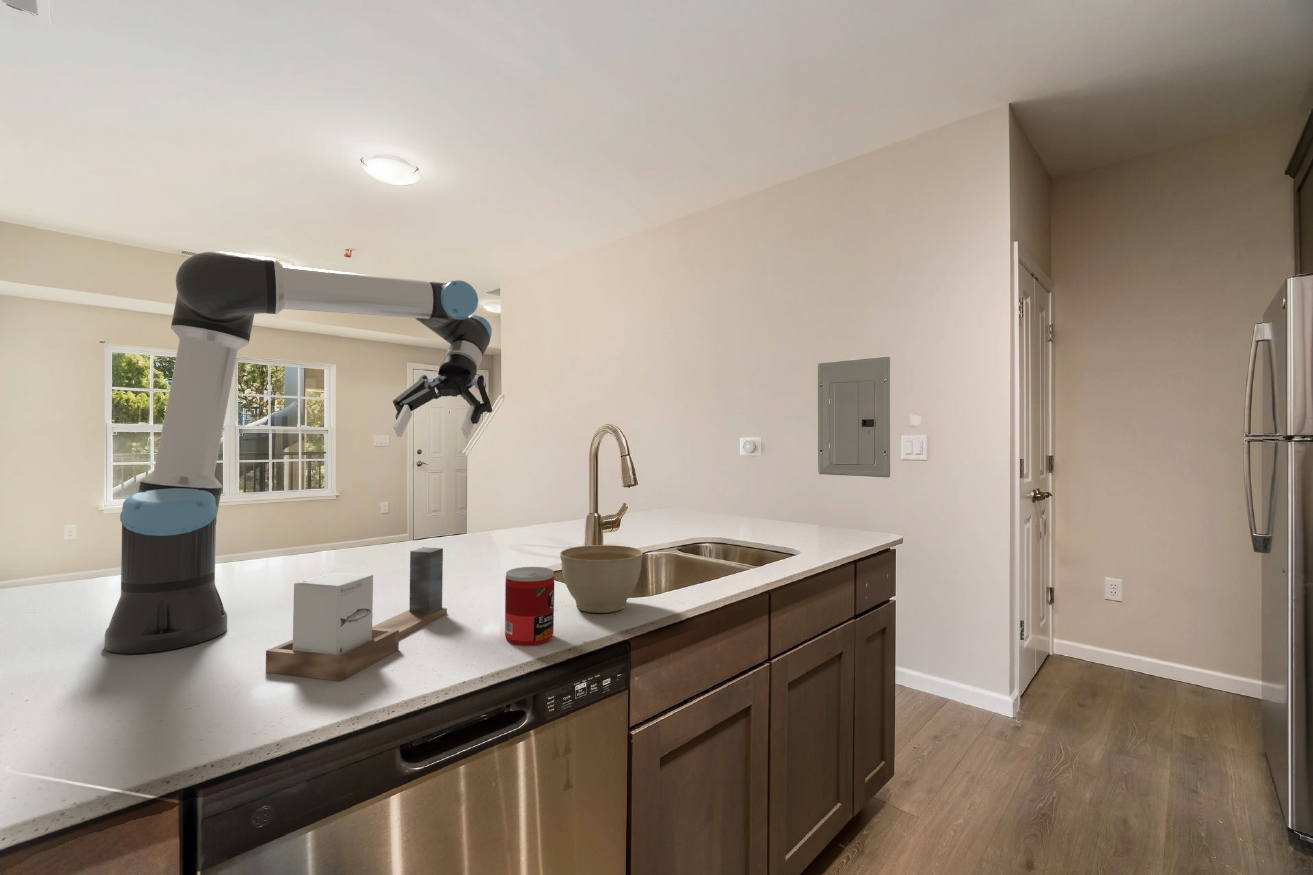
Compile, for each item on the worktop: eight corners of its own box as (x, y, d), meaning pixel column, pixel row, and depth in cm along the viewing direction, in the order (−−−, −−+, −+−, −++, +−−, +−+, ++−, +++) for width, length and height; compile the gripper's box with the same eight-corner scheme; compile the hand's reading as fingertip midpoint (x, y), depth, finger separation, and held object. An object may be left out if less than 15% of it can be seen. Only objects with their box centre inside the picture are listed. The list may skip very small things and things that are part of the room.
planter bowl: (655, 601, 118) (656, 548, 118) (618, 624, 103) (619, 563, 103) (586, 592, 125) (587, 541, 125) (542, 612, 110) (543, 554, 110)
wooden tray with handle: (265, 672, 80) (266, 585, 80) (403, 609, 110) (404, 546, 110) (340, 681, 78) (341, 591, 78) (461, 614, 107) (462, 549, 107)
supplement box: (335, 678, 79) (337, 585, 79) (290, 673, 81) (291, 582, 81) (373, 658, 86) (375, 573, 86) (331, 653, 88) (332, 570, 88)
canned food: (542, 648, 91) (543, 578, 91) (495, 644, 93) (496, 575, 93) (560, 632, 99) (561, 568, 99) (516, 629, 100) (517, 565, 100)
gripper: (518, 379, 132) (497, 446, 117) (410, 378, 133) (375, 444, 118) (512, 352, 127) (489, 419, 112) (400, 351, 128) (362, 417, 113)
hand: (430, 432), depth 115 cm, fingers open, 13 cm apart
